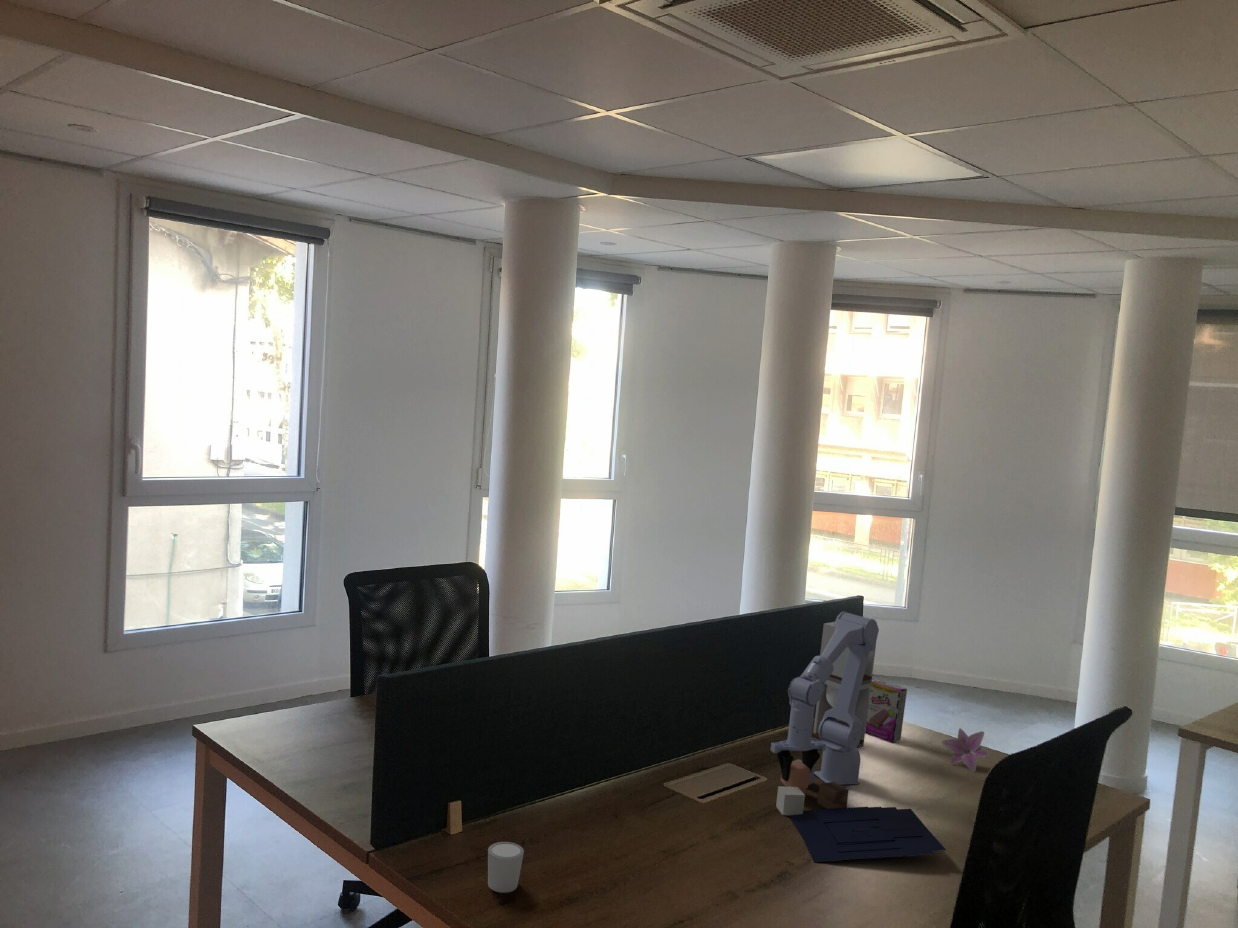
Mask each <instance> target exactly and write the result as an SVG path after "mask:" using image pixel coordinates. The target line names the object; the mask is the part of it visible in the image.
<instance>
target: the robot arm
mask: <svg viewBox="0 0 1238 928" xmlns="http://www.w3.org/2000/svg"><path fill="white" fill-rule="evenodd" d="M834 622H835V623H834V634H833V636H832V637H831V639H830V641H829V643H828V644H827V646H826V648H825V649H824V651H823V653H822V655H821V656H820V655H816V656H814V657H813V658H812V660H811V661H810V662H809V664H808V665H807V666H806V668H805V669H804V671H803V672H802V673H801V675H800V676H797V677H794V678H793V679H792V680H791V681H790V684H789V686H788V688H787V694H788V698H789V702H788V703H789V704H788V705H789V706H790V715H789V723H788V733H787V739H785V740H781V741H776V742H771V744H770V751H771V752H772V753H773V754H776V756H777V759H778V763H779V767H780V772H781V774H782V779H784V780H785V781H788V779H789V774H790V767H791V764H792V761H794V757H793V756H792V755H791V753H792V752H801V760H802V763H803V764H805V765H806V766H807V767H808V768H810V772H811V770H812V768H813V766H814V765H815V764H816V763H817V762H818V760H819V759H820V758H821V764H820V765H821V766H820V770H819V771H815V770H814V775H815V776H816V777H818V778H819V779H820V780H822V781H823V782H824V783H829V782H833V781H834V782H836V783H837V784H839V785H841V786H843V785H844V786H845V785H859V784H860V781H859V777H860V767H861V754H860V750H859V748H856V747H857V746H858V744H859V742H860V738H861V725H862V723H861V722H860V720H859V719H858V717H857V716H856V715H855V713H854V711H855V707H856V704H857V700H858V696H859V692H860V688H861V684H862V680H863V676H864V672H865V668H866V665H867V661H868V657H869V653H870V651H873V650H874V647H875V644H876V645H877V639H878V635H879V630H880V629H879V625H878V623H877V620H876V619H874V618H868V617H865V616H861V615H858V614H853V613H850V612H847V611H844V610H843V611H841V612H840V613H839V614H838V615H837V616H836V619H835V621H834ZM847 646H848V647H849V654H848V658H847V662H846V666H845V670H844V674H843V678H842V681H841V685H840V689H839V693H838V697H837V701H836V705H835V707H834V708H832V709H830V710H828V711H826V712H825V714H824V717H823V719H822V721H821V723H820V725H819V729H818V733H819V737H820V739H822V741H813V740H811V735H812V733H813V727H814V719H815V710H816V705H817V702H818V701H819V700H820V697H821V693H822V691H823V688H824V687H823V685H824V683H825V682H826V681H827V679H828V678H829V676H830V675H831V673H832V672H833V670H834V668H833V663H834V662H835V660H836V659H837V658H838V657H839V656H840V655H841V653H842V652H843V651H844V650H845V649H846V648H847ZM835 719H839V720H842V721H844V722H847V723H848V724H846V723H843V722H841V721H838V720H835ZM818 751H820V752H822V757H820V756H821V753H820V752H818Z"/></svg>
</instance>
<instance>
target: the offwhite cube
mask: <svg viewBox="0 0 1238 928" xmlns="http://www.w3.org/2000/svg"><path fill="white" fill-rule="evenodd" d="M776 793H777V795H776V804H775V807H776V809H777V810H778V811H779V812H780V814H781V815H782V816H788V815H798V814H803V811H804V808H805V798H806V794H804V792H803V791H802V790H801V789H799V788H798V787H787V786H786V785H784V786H782V785H781V786H780V785H779V786H777V792H776Z"/></svg>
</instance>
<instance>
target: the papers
mask: <svg viewBox="0 0 1238 928" xmlns="http://www.w3.org/2000/svg"><path fill="white" fill-rule="evenodd" d="M787 816H788V818H789V819H790V820H791V823H793V826H794V827H795V828H796V829H797V831H798V833H799V834H800V835H801V838H802V839H803V841H804V844H805V846H806V848H807V849H808V853H809V854H810V856H811V859H812V861H813V862H814V863H821V862H822V863H823V862H840V861H841V862H842V861H847V860H848V861H849V860H861V859H862V860H863V859H877V858H878V859H879V858H894V857H895V858H896V857H902V858H904V857H905V858H906V857H918V856H921V855H933V854H935V853H934V852H939V851H947V849H946V847H944V845H943V844H942V843H941V842H940V841H939V839H937V838H936V836H935V835H934V834H933V833H932V832H931V831H930V830H929V829H928V828H927V827H926V825H925V824H924V823H923V822H922V821H921V819H920V818H919V816H918V815H917V814H916V813H915V811H913V810H912V808H899V809H898V808H897V807H896V806H889V807H888V806H887V807H885V806H884V807H882V806H855V807H847V808H834V809H826V808H819V809H811V810H803V814H798V815H787Z"/></svg>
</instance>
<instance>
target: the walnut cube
mask: <svg viewBox="0 0 1238 928" xmlns="http://www.w3.org/2000/svg"><path fill="white" fill-rule="evenodd" d="M818 786H819V787H818V793H817V803H816V804H817V805H820V806H821V807H823V808H824V809H834V808H848V800H849V799H848V797H849V791H850V790H849V788H847V787H845V786H843V785H839V784H837V783H836V782H834V781H833V782H829V783H825V782H824V783H820V784H819V785H818Z"/></svg>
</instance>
